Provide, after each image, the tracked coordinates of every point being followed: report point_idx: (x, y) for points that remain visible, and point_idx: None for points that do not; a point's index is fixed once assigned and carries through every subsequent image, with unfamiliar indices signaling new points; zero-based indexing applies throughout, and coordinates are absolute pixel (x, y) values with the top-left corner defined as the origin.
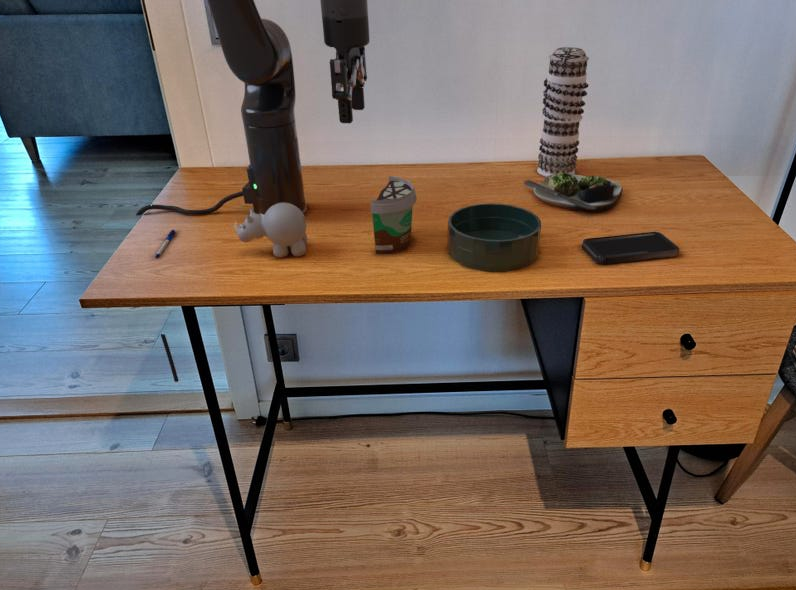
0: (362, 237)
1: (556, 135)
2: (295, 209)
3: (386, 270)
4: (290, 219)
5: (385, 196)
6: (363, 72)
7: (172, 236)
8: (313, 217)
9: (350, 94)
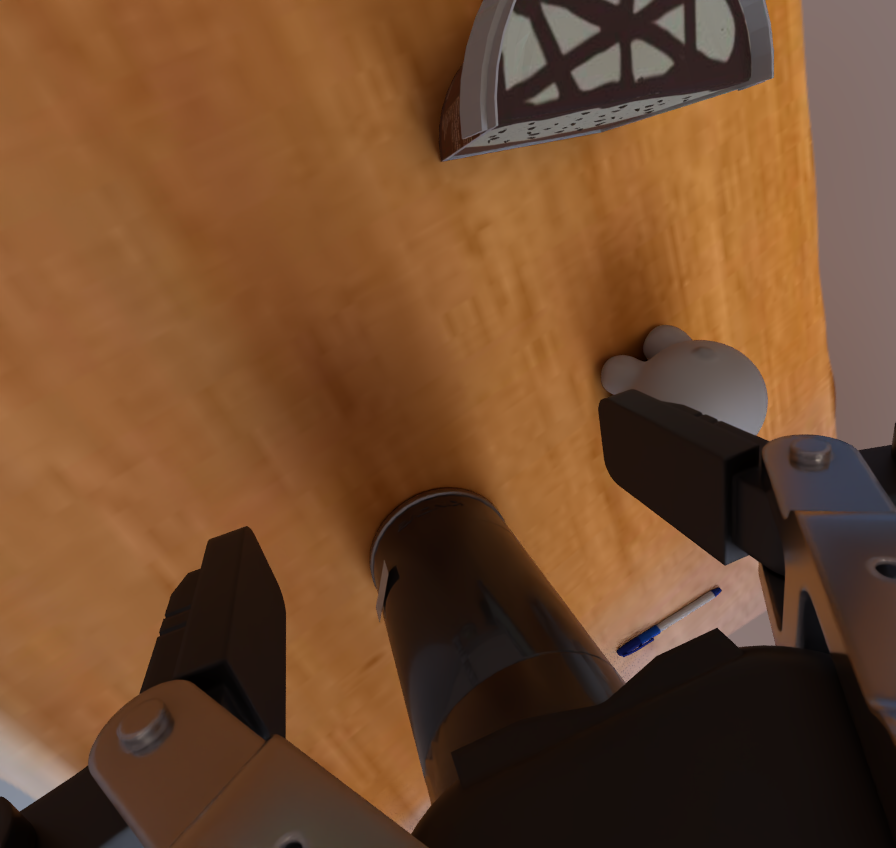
0: (512, 233)
1: None
2: (732, 379)
3: None
4: (754, 366)
5: (670, 55)
6: (267, 840)
7: (638, 637)
8: (437, 454)
9: (822, 465)
